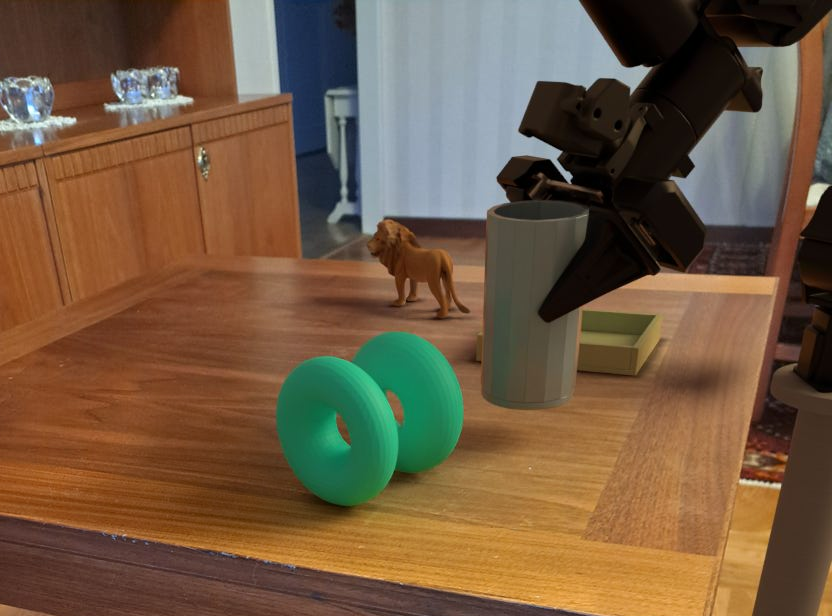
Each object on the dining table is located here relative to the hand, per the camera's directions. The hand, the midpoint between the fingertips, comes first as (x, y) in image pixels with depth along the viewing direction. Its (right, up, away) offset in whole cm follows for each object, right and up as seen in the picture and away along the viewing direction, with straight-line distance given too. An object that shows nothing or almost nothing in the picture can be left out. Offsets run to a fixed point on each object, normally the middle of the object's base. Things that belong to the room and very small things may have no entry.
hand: (515, 307), depth 68 cm
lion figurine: (-4, +14, +41) cm, 44 cm away
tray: (+10, +5, +25) cm, 27 cm away
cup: (+2, -5, +4) cm, 7 cm away
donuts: (-10, -13, 0) cm, 17 cm away
